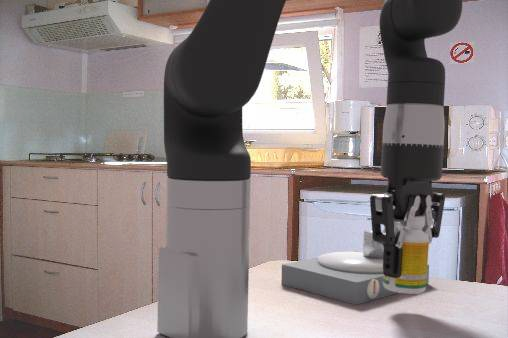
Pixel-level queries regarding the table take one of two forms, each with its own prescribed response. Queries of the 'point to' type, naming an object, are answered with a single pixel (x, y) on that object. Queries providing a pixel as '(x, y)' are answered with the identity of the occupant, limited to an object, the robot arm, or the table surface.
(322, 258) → the scale
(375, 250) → the cylinder
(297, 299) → the table surface
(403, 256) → the supplement bottle
